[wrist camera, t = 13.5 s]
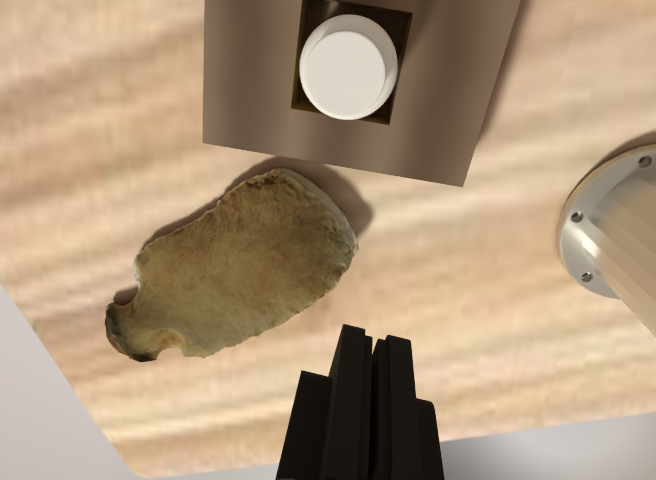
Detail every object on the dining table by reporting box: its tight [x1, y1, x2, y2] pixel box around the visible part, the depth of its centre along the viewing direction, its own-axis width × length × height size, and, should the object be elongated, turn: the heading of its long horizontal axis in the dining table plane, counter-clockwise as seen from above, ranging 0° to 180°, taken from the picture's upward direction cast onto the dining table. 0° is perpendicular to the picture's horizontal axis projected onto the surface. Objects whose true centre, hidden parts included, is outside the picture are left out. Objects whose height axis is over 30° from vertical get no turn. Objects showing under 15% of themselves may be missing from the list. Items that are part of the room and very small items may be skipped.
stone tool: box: [105, 168, 358, 362], centre depth 37 cm, size 12×4×25 cm
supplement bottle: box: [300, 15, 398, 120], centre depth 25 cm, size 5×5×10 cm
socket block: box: [203, 0, 521, 187], centre depth 28 cm, size 18×13×4 cm
